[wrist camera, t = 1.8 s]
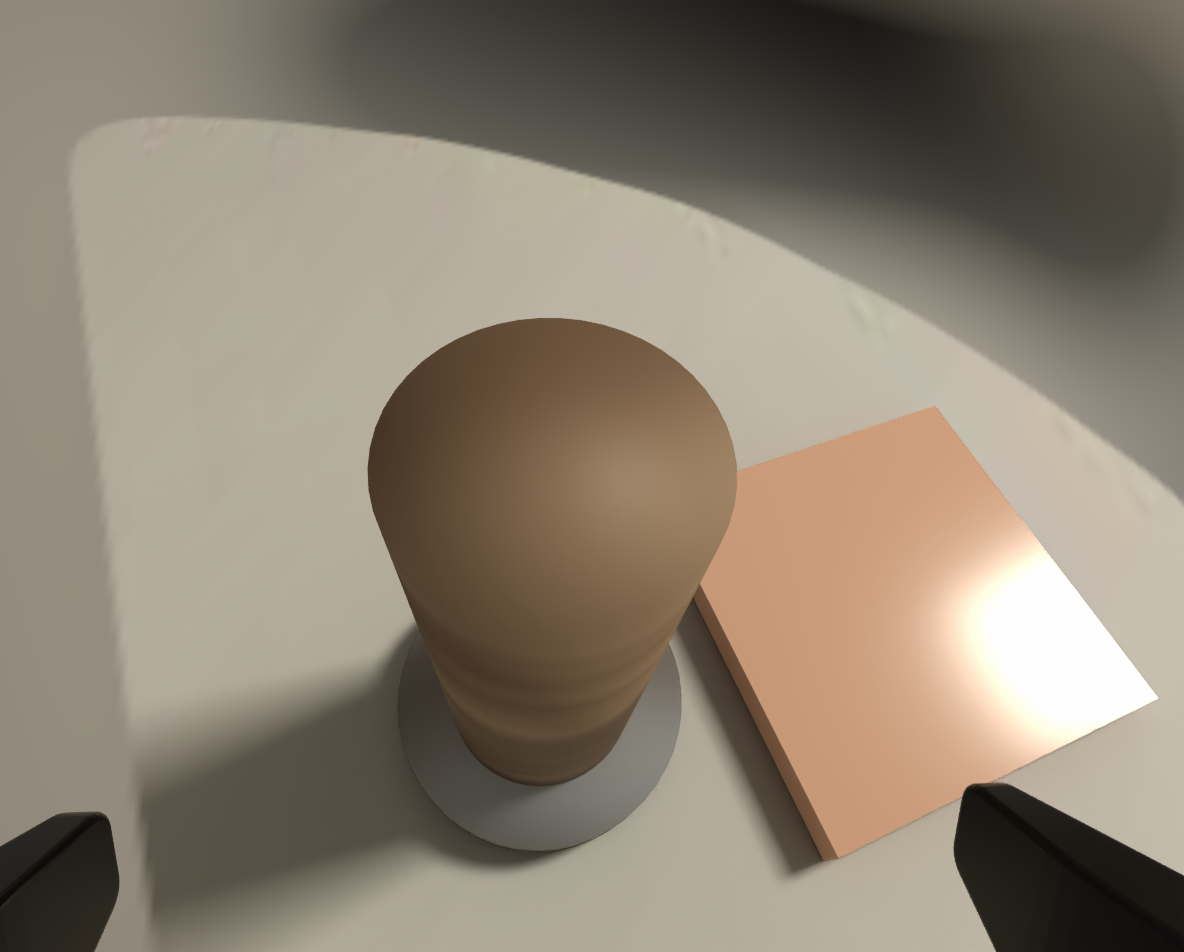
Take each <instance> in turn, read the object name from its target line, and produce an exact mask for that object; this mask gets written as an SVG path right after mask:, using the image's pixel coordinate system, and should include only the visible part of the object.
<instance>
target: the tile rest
mask: <svg viewBox="0 0 1184 952" xmlns="http://www.w3.org/2000/svg"><path fill="white" fill-rule="evenodd" d="M693 598H694V600H695V602H696V604H697V606H698V608H699V610H700V612H701V614H702V616H703V618H704V620H705V622H706V624H707V626H708V629H709V631H710V633H711V635H712V637H713V639H714V641H715V643H716V645H717V647H718V649H719V651H720V653H721V655H722V657H723V659H724V661H725V663H726V665H727V667H728V669H729V671H730V673H731V675H732V677H733V679H734V681H735V683H736V685H737V687H738V689H739V691H740V693H741V695H742V697H743V699H744V701H745V703H746V705H747V707H748V709H749V711H750V713H751V715H752V717H753V719H754V721H755V723H756V725H757V727H758V730H759V732H760V734H761V736H762V738H763V740H764V742H765V744H766V746H767V748H768V750H769V752H770V754H771V756H772V758H773V760H774V762H775V764H776V766H777V768H778V770H779V772H780V774H781V776H782V778H783V780H784V782H785V784H786V786H787V788H788V790H789V792H790V794H791V796H792V798H793V800H794V802H795V804H796V806H797V808H798V810H799V812H800V814H801V816H802V818H803V820H804V822H805V824H806V826H807V829H808V831H809V833H810V835H811V837H812V839H813V841H814V843H815V845H816V847H817V849H818V851H819V853H820V855H821V857H822V859H823V861H826V860H832V859H838V858H840V857H842V856H844V855H846V854H848V853H850V852H852V851H854V850H856V849H858V848H860V847H862V846H864V845H866V844H868V843H870V842H872V841H874V840H876V839H878V838H880V837H882V836H884V835H886V834H888V833H890V832H892V831H894V830H896V829H898V828H900V827H902V826H904V825H906V824H908V823H910V822H912V821H914V820H916V819H918V818H920V817H922V816H924V815H926V814H928V813H930V812H932V811H934V810H936V809H938V808H940V807H942V806H944V805H946V804H948V803H950V802H952V801H954V800H956V799H958V798H960V797H962V796H963V792H964V790H965V789H966V787H967V786H969V785H971V784H974V783H990V782H992V781H994V780H996V779H998V778H1000V777H1002V776H1004V775H1006V774H1008V773H1010V772H1012V771H1014V770H1016V769H1018V768H1020V767H1022V766H1024V765H1026V764H1028V763H1030V762H1032V761H1034V760H1036V759H1038V758H1040V757H1042V756H1044V755H1046V754H1048V753H1050V752H1052V751H1054V750H1056V749H1058V748H1060V747H1062V746H1064V745H1066V744H1068V743H1070V742H1072V741H1074V740H1076V739H1078V738H1080V737H1082V736H1084V735H1086V734H1088V733H1090V732H1092V731H1094V730H1096V729H1098V728H1100V727H1102V726H1104V725H1106V724H1108V723H1110V722H1112V721H1114V720H1116V719H1118V718H1120V717H1122V716H1124V715H1126V714H1128V713H1130V712H1132V711H1134V710H1136V709H1138V708H1140V707H1142V706H1144V705H1146V704H1148V703H1150V702H1152V701H1154V700H1156V699H1158V697H1157V696H1156V695H1155V694H1154V692H1153V691H1152V690H1151V688H1150V687H1149V686H1148V684H1147V683H1146V682H1145V680H1144V679H1143V678H1142V676H1141V675H1140V674H1139V673H1138V671H1137V670H1136V669H1135V667H1134V666H1133V665H1132V663H1131V662H1130V661H1129V659H1128V658H1127V657H1126V655H1125V654H1124V653H1123V652H1122V650H1121V649H1120V648H1119V646H1118V645H1117V644H1116V642H1115V641H1114V640H1113V638H1112V637H1111V636H1110V634H1109V633H1108V632H1107V631H1106V629H1105V628H1104V627H1103V625H1102V624H1101V623H1100V621H1099V620H1098V619H1097V617H1096V616H1095V615H1094V613H1093V612H1092V611H1091V610H1090V608H1089V607H1088V606H1087V604H1086V603H1085V602H1084V600H1083V599H1082V598H1081V596H1080V595H1079V594H1078V593H1077V591H1076V590H1075V589H1074V587H1073V586H1072V585H1071V583H1070V582H1069V581H1068V579H1067V578H1066V577H1065V575H1064V574H1063V573H1062V572H1061V570H1060V569H1059V568H1058V566H1057V565H1056V564H1055V562H1054V561H1053V560H1052V558H1051V557H1050V556H1049V554H1048V553H1047V552H1046V551H1045V549H1044V548H1043V547H1042V545H1041V544H1040V543H1039V541H1038V540H1037V539H1036V537H1035V536H1034V535H1033V533H1032V532H1031V531H1030V530H1029V528H1028V527H1027V526H1026V524H1025V523H1024V522H1023V520H1022V519H1021V518H1020V516H1019V515H1018V514H1017V512H1016V511H1015V510H1014V509H1013V507H1012V506H1011V505H1010V503H1009V502H1008V501H1007V499H1006V498H1005V497H1004V495H1003V494H1002V493H1001V491H1000V490H999V489H998V488H997V486H996V485H995V484H994V482H993V481H992V480H991V478H990V477H989V476H988V474H987V473H986V472H985V471H984V469H983V468H982V467H981V465H980V464H979V463H978V461H977V460H976V459H975V457H974V456H973V455H972V453H971V452H970V451H969V450H968V448H967V447H966V446H965V444H964V443H963V442H962V440H961V439H960V438H959V436H958V435H957V434H956V432H955V431H954V430H953V429H952V427H951V426H950V425H949V423H948V422H947V421H946V419H945V418H944V417H943V415H942V414H941V413H940V411H939V410H938V409H937V408H936V406H933V407H930V408H927V409H924V410H921V411H918V412H915V413H912V414H909V415H906V416H903V417H900V418H897V419H894V420H891V421H888V422H885V423H882V424H879V425H876V426H873V427H870V428H867V429H863V430H860V431H857V432H854V433H851V434H848V435H845V436H842V437H839V438H836V439H833V440H830V441H827V442H824V443H821V444H818V445H815V446H812V447H809V448H806V449H803V450H800V451H797V452H794V453H791V454H788V455H785V456H782V457H779V458H776V459H773V460H770V461H767V462H764V463H761V464H757V465H754V466H751V467H748V468H745V469H742V470H739V471H737V490H736V498H735V506H734V509H733V513H732V516H731V520H730V524H729V526H728V529H727V531H726V533H725V535H724V537H723V540H722V542H721V544H720V546H719V548H718V550H717V552H716V554H715V556H714V558H713V559H712V561H711V563H710V565H709V567H708V569H707V571H706V573H705V575H704V577H703V579H702V581H701V582H700V584H699V586H698V588H697V590H696V592H695V594H694V596H693Z"/></svg>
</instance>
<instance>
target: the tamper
mask: <svg viewBox="0 0 1184 952" xmlns="http://www.w3.org/2000/svg"><path fill="white" fill-rule="evenodd" d="M368 487H369V494H370V499H371V504H372V508H373V512H374V515H375V518H376V520H377V523H378V525H379V528H380V531H381V533H382V536H383V538H384V541H385V544H386V546H387V549H388V551H389V554H390V556H391V559H392V561H393V564H394V567H395V569H396V572H397V574H398V577H399V579H400V582H401V585H402V587H403V590H404V592H405V595H406V597H407V600H408V602H409V605H410V608H411V610H412V613H413V615H414V618H415V620H416V623H417V625H418V628H419V631H420V632H419V633H418V635H417V637H416V639H415V641H414V643H413V645H412V647H411V649H410V651H409V653H408V656H407V659H406V662H405V665H404V668H403V672H402V677H401V682H400V687H399V700H398V715H399V727H400V733H401V738H402V743H403V747H404V749H405V752H406V755H407V758H408V761H409V764H410V766H411V768H412V770H413V772H414V774H415V776H416V778H417V780H418V781H419V783H420V784H421V786H422V787H423V789H424V790H425V791H426V793H427V794H428V796H429V797H430V798H431V799H432V801H433V802H434V803H435V804H436V805H437V806H438V807H439V808H440V809H441V810H442V811H443V812H444V814H445V815H446V816H447V817H448V818H450V819H451V820H452V821H454V822H455V823H456V824H457V825H459V826H460V827H461V828H462V829H464V830H466V831H467V832H469V833H471V834H473V835H474V836H476V837H478V838H479V839H482V840H485V841H487V842H490V843H492V844H495V845H497V846H501V847H505V848H510V849H514V850H522V851H534V852H538V851H554V850H559V849H564V848H569V847H574V846H576V845H579V844H582V843H585V842H587V841H590V840H593V839H595V838H596V837H598V836H600V835H602V834H604V833H606V832H608V831H609V830H611V829H612V828H613V827H615V826H616V825H618V824H619V823H620V822H622V821H623V820H624V819H625V818H627V817H628V816H629V815H630V814H631V813H632V812H633V811H634V810H635V809H636V808H637V807H638V806H639V805H640V804H641V803H642V802H643V801H644V800H645V799H646V797H647V796H648V795H649V794H650V792H651V791H652V790H653V788H654V787H655V786H656V785H657V783H658V781H659V779H660V778H661V776H662V774H663V773H664V771H665V769H666V767H667V765H668V762H669V760H670V758H671V755H672V753H673V751H674V747H675V743H676V740H677V736H678V732H679V726H680V719H681V687H680V678H679V673H678V669H677V665H676V661H675V658H674V655H673V653H672V650H671V648H670V645H669V642H670V640H671V638H672V636H673V634H674V632H675V630H676V628H677V626H678V625H679V623H680V621H681V619H682V617H683V615H684V613H685V611H686V609H687V607H688V605H689V604H690V602H691V600H692V598H693V596H694V594H695V592H696V590H697V588H698V586H699V584H700V582H701V581H702V579H703V577H704V575H705V573H706V571H707V569H708V567H709V565H710V563H711V561H712V559H713V558H714V556H715V554H716V552H717V550H718V548H719V546H720V544H721V542H722V540H723V537H724V535H725V533H726V531H727V529H728V526H729V524H730V520H731V516H732V513H733V509H734V506H735V498H736V490H737V465H736V459H735V453H734V448H733V443H732V440H731V437H730V434H729V431H728V428H727V426H726V423H725V421H724V419H723V417H722V415H721V413H720V411H719V409H718V407H717V406H716V404H715V403H714V401H713V400H712V398H711V397H710V396H709V394H708V393H707V391H706V390H705V389H704V388H703V386H702V385H701V384H700V383H699V382H698V381H697V380H696V378H695V377H694V376H693V375H692V374H691V373H690V372H689V371H687V370H686V369H685V368H684V367H683V366H682V365H681V364H680V363H679V362H677V361H676V360H675V359H673V358H672V357H670V356H669V355H668V354H666V353H665V352H663V351H662V350H661V349H659V348H657V347H655V346H653V345H652V344H650V343H648V342H646V341H644V340H643V339H640V338H638V337H636V336H633V335H631V334H629V333H626V332H624V331H621V330H618V329H615V328H612V327H608V326H605V325H602V324H597V323H592V322H587V321H582V320H573V319H563V318H536V319H525V320H517V321H511V322H506V323H501V324H497V325H493V326H490V327H487V328H484V329H480V330H477V331H475V332H472V333H470V334H468V335H465V336H463V337H461V338H458V339H456V340H455V341H453V342H451V343H449V344H448V345H446V346H444V347H442V348H440V349H439V350H438V351H436V352H435V353H433V354H432V355H431V356H429V357H428V358H427V359H425V360H424V361H422V362H421V363H420V364H419V365H418V366H417V367H416V368H415V369H414V370H413V371H412V372H411V373H410V374H409V375H408V376H407V377H406V378H405V379H404V380H403V382H402V383H401V384H400V385H399V386H398V388H397V389H396V390H395V391H394V393H393V394H392V396H391V398H390V399H389V401H388V402H387V404H386V406H385V407H384V409H383V411H382V414H381V416H380V418H379V420H378V423H377V425H376V427H375V431H374V434H373V438H372V442H371V446H370V452H369V461H368Z"/></svg>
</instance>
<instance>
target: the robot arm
mask: <svg viewBox="0 0 1184 952" xmlns="http://www.w3.org/2000/svg"><path fill="white" fill-rule="evenodd" d="M954 858H955V862H956V866H957V869H958V871H959V874H960V876H961V878H962V880H963V882H964V884H965V887H966V889H967V891H968V893H969V895H970V897H971V899H972V902H973V904H974V906H975V908H976V910H977V912H978V914H979V916H980V919H981V921H982V923H983V925H984V927H985V929H986V931H987V933H988V936H989V938H990V940H991V942H992V944H993V946H994V948H995V951H996V952H1184V875H1182V874H1180V873H1178V872H1176V871H1174V870H1172V869H1170V868H1168V867H1167V866H1165V865H1163V864H1161V863H1159V862H1157V861H1155V860H1153V859H1151V858H1149V857H1147V856H1146V855H1144V854H1142V853H1140V852H1138V851H1136V850H1134V849H1132V848H1130V847H1128V846H1126V845H1125V844H1123V843H1121V842H1119V841H1117V840H1115V839H1113V838H1111V837H1109V836H1107V835H1105V834H1103V833H1102V832H1100V831H1098V830H1096V829H1094V828H1092V827H1090V826H1088V825H1086V824H1084V823H1082V822H1081V821H1079V820H1077V819H1075V818H1073V817H1071V816H1069V815H1067V814H1065V813H1063V812H1061V811H1060V810H1058V809H1056V808H1054V807H1052V806H1050V805H1048V804H1046V803H1044V802H1042V801H1040V800H1039V799H1037V798H1035V797H1033V796H1031V795H1029V794H1027V793H1025V792H1023V791H1021V790H1019V789H1017V788H1016V787H1014V786H1012V785H1009V784H1006V783H999V782H998V783H974V784H971V785H969V786H967V787H966V789H965V790H964V792H963V796H962V801H961V806H960V812H959V817H958V823H957V829H956V834H955V840H954ZM118 891H119V873H118V867H117V861H116V855H115V849H114V843H113V837H112V831H111V825H110V822H109V819H108V818H107V816H106V815H104V814H103V813H100V812H70V813H61V814H58V815H55V816H53V817H51V818H49V819H48V820H46V821H44V822H42V823H41V824H39V825H37V826H35V827H34V828H32V829H30V830H28V831H27V832H25V833H23V834H21V835H20V836H18V837H16V838H14V839H13V840H11V841H9V842H7V843H6V844H4V845H2V846H0V952H94V951H95V949H96V947H97V945H98V942H99V940H100V938H101V936H102V933H103V931H104V929H105V927H106V924H107V922H108V920H109V918H110V915H111V913H112V911H113V909H114V906H115V903H116V900H117V896H118Z"/></svg>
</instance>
